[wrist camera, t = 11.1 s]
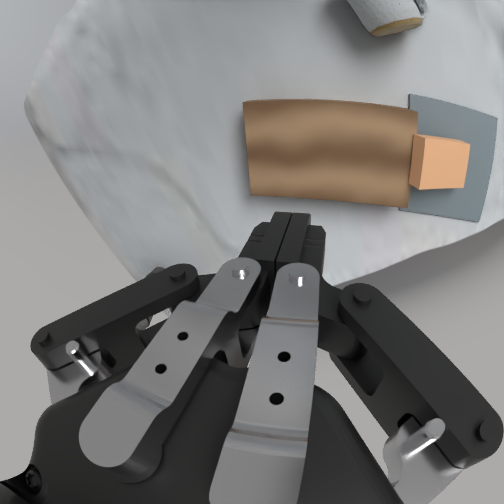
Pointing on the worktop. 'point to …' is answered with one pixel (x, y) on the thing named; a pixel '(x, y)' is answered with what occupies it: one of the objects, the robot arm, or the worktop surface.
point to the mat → (479, 163)
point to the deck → (330, 150)
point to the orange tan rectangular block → (438, 162)
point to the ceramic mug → (389, 15)
